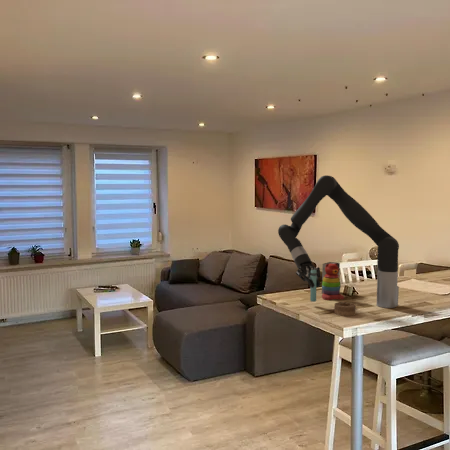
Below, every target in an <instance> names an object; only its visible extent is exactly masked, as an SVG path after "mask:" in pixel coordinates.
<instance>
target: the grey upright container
mask: <svg viewBox="0 0 450 450" xmlns="http://www.w3.org/2000/svg"><path fill="white" fill-rule="evenodd" d="M335 263H336V264H337V266H338V268H339V272H338V274H337V275H338V276H339V277H340V272H341V271H340V267H341V266H340V264H341V263H340V262H335V261H328V262H325V263H322V269H321V270H322V271H321V273H322V276H321V277H322V278H321V283H322V282H323V278H324V276H325V275H326V272H325V267H326V264H335ZM321 294H323V289H322V288H321Z"/></svg>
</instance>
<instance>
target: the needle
mask: <svg viewBox="0 0 450 450" xmlns="http://www.w3.org/2000/svg"><path fill="white" fill-rule="evenodd" d="M310 275H311V279H312V281H313V283H314V285H315V286H314V288H311V287H310V300H309V301H310V302H313V303H315V302H317V286H316V279H317V270H311V273H310Z"/></svg>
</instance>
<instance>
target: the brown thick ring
mask: <svg viewBox="0 0 450 450" xmlns="http://www.w3.org/2000/svg"><path fill="white" fill-rule="evenodd" d="M356 307H357V305H356V304H355V303H352V302H346V301H339V302H336V303H334V314H335V315H337V316H342V317H353V316H355V315H356V309H357V308H356Z"/></svg>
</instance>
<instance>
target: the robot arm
mask: <svg viewBox="0 0 450 450" xmlns="http://www.w3.org/2000/svg"><path fill="white" fill-rule="evenodd" d="M327 196H328V197H329V198H330V199H331V200H332V201H333V202H334V203H335V204H336V205H337V206H338V207H339V210H340V211H341V212H342V214H343V215H344V216H345V218H346V219H347V220H348V222H350V223H351V224H352V225H353V226H354V227H355V228H357V229H358V230H359V231H361V232H362V233H364V234H366V236H368V238H370V239H371V240H372V241H373V243H375V245H376V246H377V262H376V263H377V275H376V276H377V278H376V279H377V280H376V284H377V285H376V306H377V307H380V308H386V309H391V308H393V309H394V308H396V307H397V306H399V288H400V287H399V285H398V280H399V279H398V274H399V249H400V244H399V241H398V240H397V239H396V238H395V237H393V236H392V235H391V234H390V233H388V232H387V231H386V230H385V229H384V228H383V227H382V226H380V224H379V223H378V222H377V221H376V220H375V219H374V217H373V216H372V215H371V214H370V213H369V212H368V211H367V209H366V208H364V206H363V205H361V204H360V203H359V202H358V201H357V200H356V199H355V198H353V197H352V196H351V195H350V194H348V192H346V190H344V188H343V187H342V186H341V185H340V184H339V182H338V180H337V179H336V177H334V176H332V175H323V176H320V177H319V178H318V180H317V182H315V185H314V186H313V188H312V190H311V191H310V193H309V195H308V196H307V198H305V200H304V201H303V202H302V203H301V205H300V206H299V207H298V208H297V209H296V211H295V212H294V213H293V214H292V216H291V217H290V221H291V225H288V224H281V225H279V227H278V228H277V229H278V230H277V232H278V233H277V234H278V236H279V238H280V239H281V241H282V242H283V244H284V245H286V246H287V249H288V251H289V253H290V254H291V257H292V259H293V262H294V263H295V265H296V267H297V270H296V272H295V274H296V275H297V276H298V277H299V278H300V279H301V280H302V281H303V282H307V283H308V286H309V287H310V288H314V286H315V285H314V283H313V281H312V279H311V275H310V273H311V270H317V279H316V288H319V287H320V286H321V282H320V278H321V269H320V267H319V266H317V267H315V266H314V265H313V263H312V260H311V258H310V256H309V255H308V254H309V253H307V252H308V251H307V250H306V248H304V245H303V244H302V242H301V240H300V239H299V238H297V237H298V236H299V233H300V232H301V229H302V227H303V225H305V223H306V221H308V219H309V218H310V216H311V215H313V212H314V211H315V209H316V207H317V206H318V205H319V204H320V202H321V201H322V200H323V199H324V198H326V197H327Z"/></svg>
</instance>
